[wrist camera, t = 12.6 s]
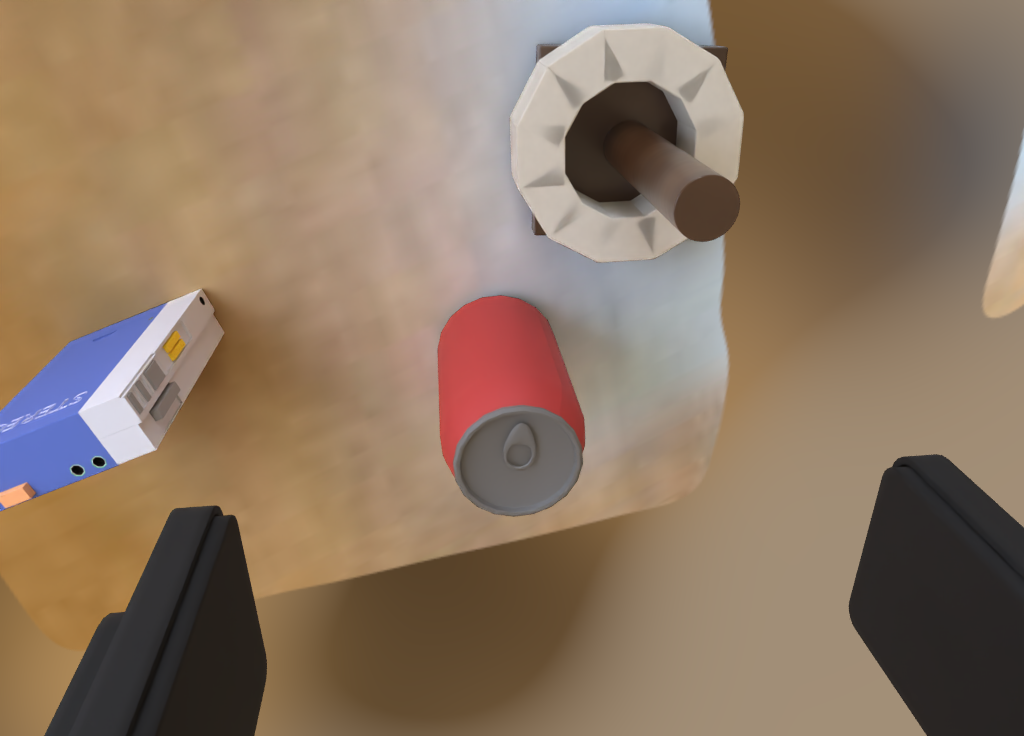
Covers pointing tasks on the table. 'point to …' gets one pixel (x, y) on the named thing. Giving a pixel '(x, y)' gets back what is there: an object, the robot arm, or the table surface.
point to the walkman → (104, 398)
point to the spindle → (644, 158)
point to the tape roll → (579, 77)
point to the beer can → (507, 408)
